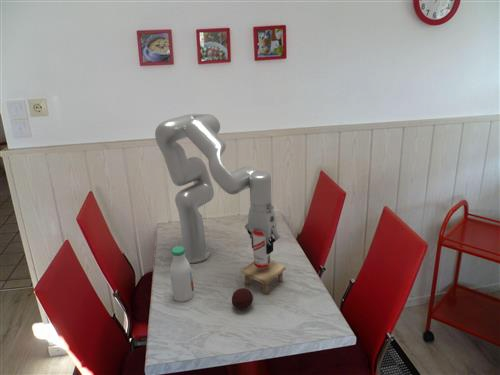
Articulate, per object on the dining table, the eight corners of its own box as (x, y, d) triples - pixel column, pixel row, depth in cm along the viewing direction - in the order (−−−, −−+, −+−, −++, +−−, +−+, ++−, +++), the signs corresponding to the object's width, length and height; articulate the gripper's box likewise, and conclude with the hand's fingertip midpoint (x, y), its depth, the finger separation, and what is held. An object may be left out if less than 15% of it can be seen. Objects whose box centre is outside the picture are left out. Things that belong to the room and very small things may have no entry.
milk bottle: (190, 303, 148) (184, 255, 140) (170, 301, 150) (163, 253, 142) (197, 290, 155) (191, 244, 147) (177, 288, 157) (171, 242, 149)
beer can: (265, 271, 151) (264, 233, 144) (250, 267, 154) (249, 229, 147) (273, 262, 156) (272, 225, 149) (259, 258, 159) (257, 222, 152)
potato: (257, 307, 144) (256, 290, 142) (240, 317, 140) (239, 300, 137) (244, 297, 150) (243, 281, 147) (227, 306, 145) (226, 290, 143)
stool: (241, 284, 157) (241, 270, 155) (261, 270, 166) (260, 256, 163) (266, 296, 150) (266, 281, 147) (285, 280, 158) (285, 266, 156)
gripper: (287, 208, 143) (287, 252, 150) (249, 196, 153) (250, 239, 160) (274, 215, 138) (275, 261, 144) (235, 203, 148) (238, 247, 155)
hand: (262, 249), depth 152 cm, fingers closed on beer can, 6 cm apart
